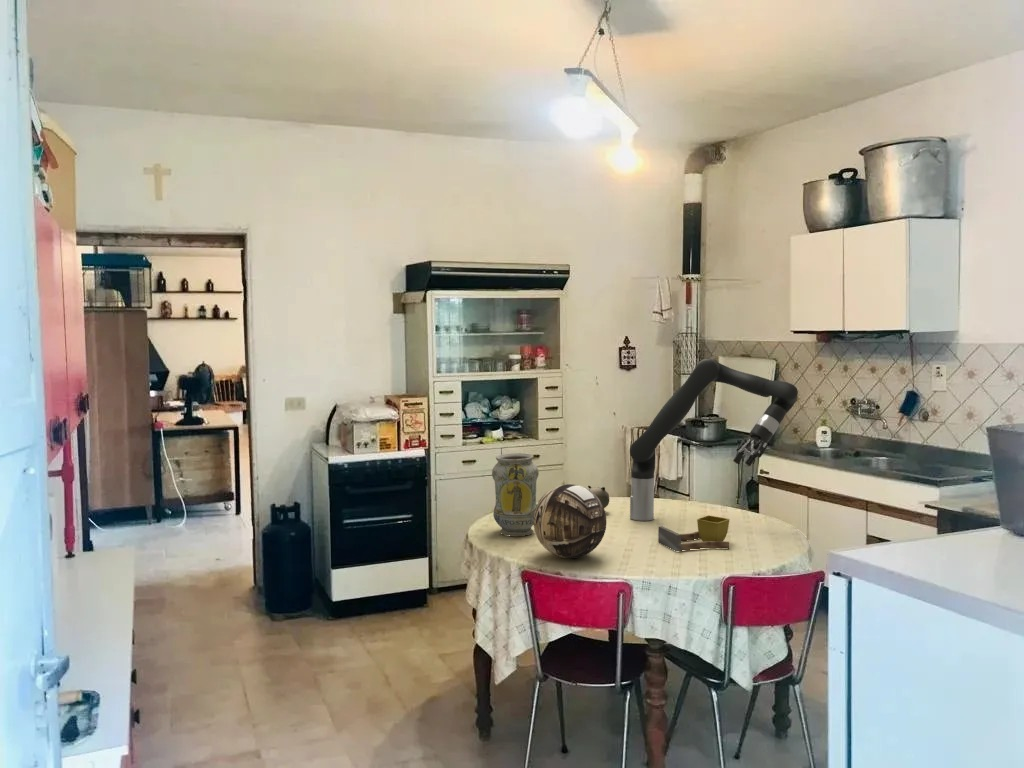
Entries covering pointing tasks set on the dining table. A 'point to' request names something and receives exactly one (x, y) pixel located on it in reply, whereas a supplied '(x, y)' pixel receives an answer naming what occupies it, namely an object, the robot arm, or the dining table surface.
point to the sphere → (569, 521)
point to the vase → (515, 493)
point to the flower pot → (712, 528)
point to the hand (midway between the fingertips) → (741, 463)
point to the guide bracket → (674, 540)
